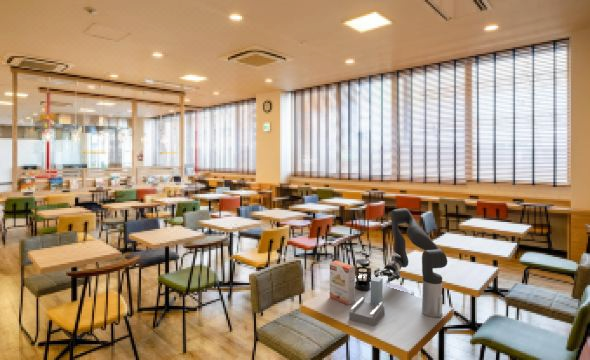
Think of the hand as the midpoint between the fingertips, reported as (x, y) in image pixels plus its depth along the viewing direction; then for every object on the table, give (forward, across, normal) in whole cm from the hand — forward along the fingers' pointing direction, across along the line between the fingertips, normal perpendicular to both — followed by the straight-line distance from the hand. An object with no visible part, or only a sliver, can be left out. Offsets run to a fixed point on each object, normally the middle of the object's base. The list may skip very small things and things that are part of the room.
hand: (383, 277), depth 198 cm
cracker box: (+15, -19, +12) cm, 27 cm away
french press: (-7, -15, +12) cm, 20 cm away
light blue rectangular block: (+12, 0, +12) cm, 17 cm away
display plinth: (+26, 0, +12) cm, 28 cm away
